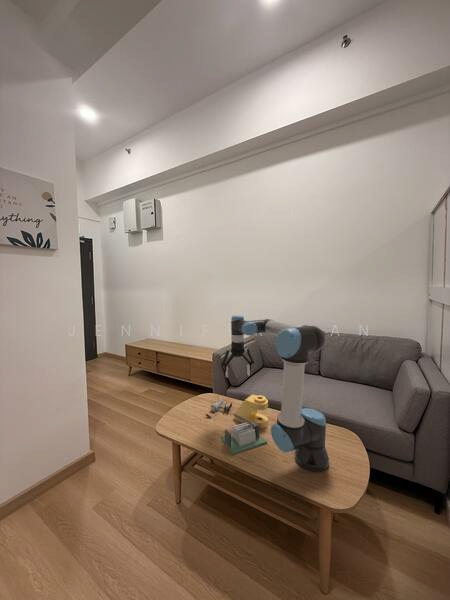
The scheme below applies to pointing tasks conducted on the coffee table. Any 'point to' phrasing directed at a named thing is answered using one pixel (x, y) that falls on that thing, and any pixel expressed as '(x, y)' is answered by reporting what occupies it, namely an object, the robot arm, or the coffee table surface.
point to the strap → (244, 419)
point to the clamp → (253, 410)
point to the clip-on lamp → (218, 404)
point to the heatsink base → (239, 449)
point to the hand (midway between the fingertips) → (237, 375)
